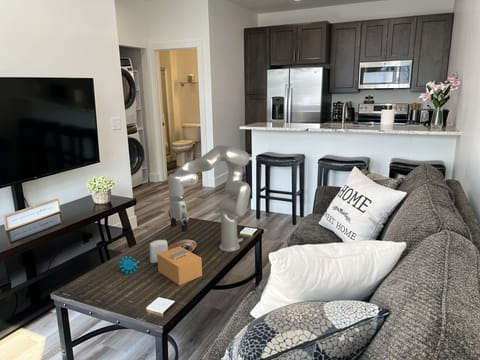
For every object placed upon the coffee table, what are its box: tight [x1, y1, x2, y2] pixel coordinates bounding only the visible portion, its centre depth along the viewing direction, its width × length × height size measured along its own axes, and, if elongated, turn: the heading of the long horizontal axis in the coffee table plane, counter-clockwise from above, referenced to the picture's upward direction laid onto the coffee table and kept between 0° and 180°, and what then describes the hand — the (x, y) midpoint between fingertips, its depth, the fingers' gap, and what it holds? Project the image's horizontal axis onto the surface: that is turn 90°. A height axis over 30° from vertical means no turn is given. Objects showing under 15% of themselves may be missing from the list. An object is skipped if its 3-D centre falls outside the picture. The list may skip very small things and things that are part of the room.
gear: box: [118, 255, 140, 275], centre depth 191 cm, size 11×6×10 cm
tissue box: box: [157, 245, 203, 286], centre depth 187 cm, size 14×20×10 cm
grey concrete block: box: [170, 250, 188, 260], centre depth 186 cm, size 9×4×9 cm, turn 137°
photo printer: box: [149, 239, 169, 264], centre depth 201 cm, size 10×4×12 cm, turn 116°
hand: (179, 229), depth 186 cm, fingers open, 9 cm apart
